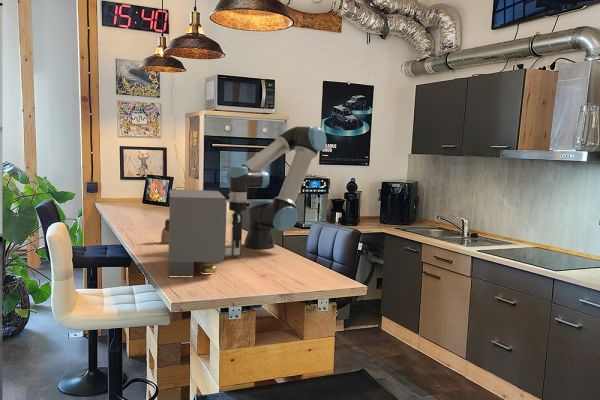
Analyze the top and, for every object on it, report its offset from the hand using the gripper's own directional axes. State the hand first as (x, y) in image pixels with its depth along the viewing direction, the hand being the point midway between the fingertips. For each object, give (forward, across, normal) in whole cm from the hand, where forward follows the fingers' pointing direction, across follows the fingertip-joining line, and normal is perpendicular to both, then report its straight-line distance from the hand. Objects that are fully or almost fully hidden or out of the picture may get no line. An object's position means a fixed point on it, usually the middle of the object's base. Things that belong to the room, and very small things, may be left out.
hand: (235, 253), depth 219 cm
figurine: (+2, -32, -29) cm, 43 cm away
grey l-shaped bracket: (+1, 0, -8) cm, 8 cm away
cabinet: (+2, +18, -19) cm, 26 cm away
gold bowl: (+2, +26, -14) cm, 29 cm away
